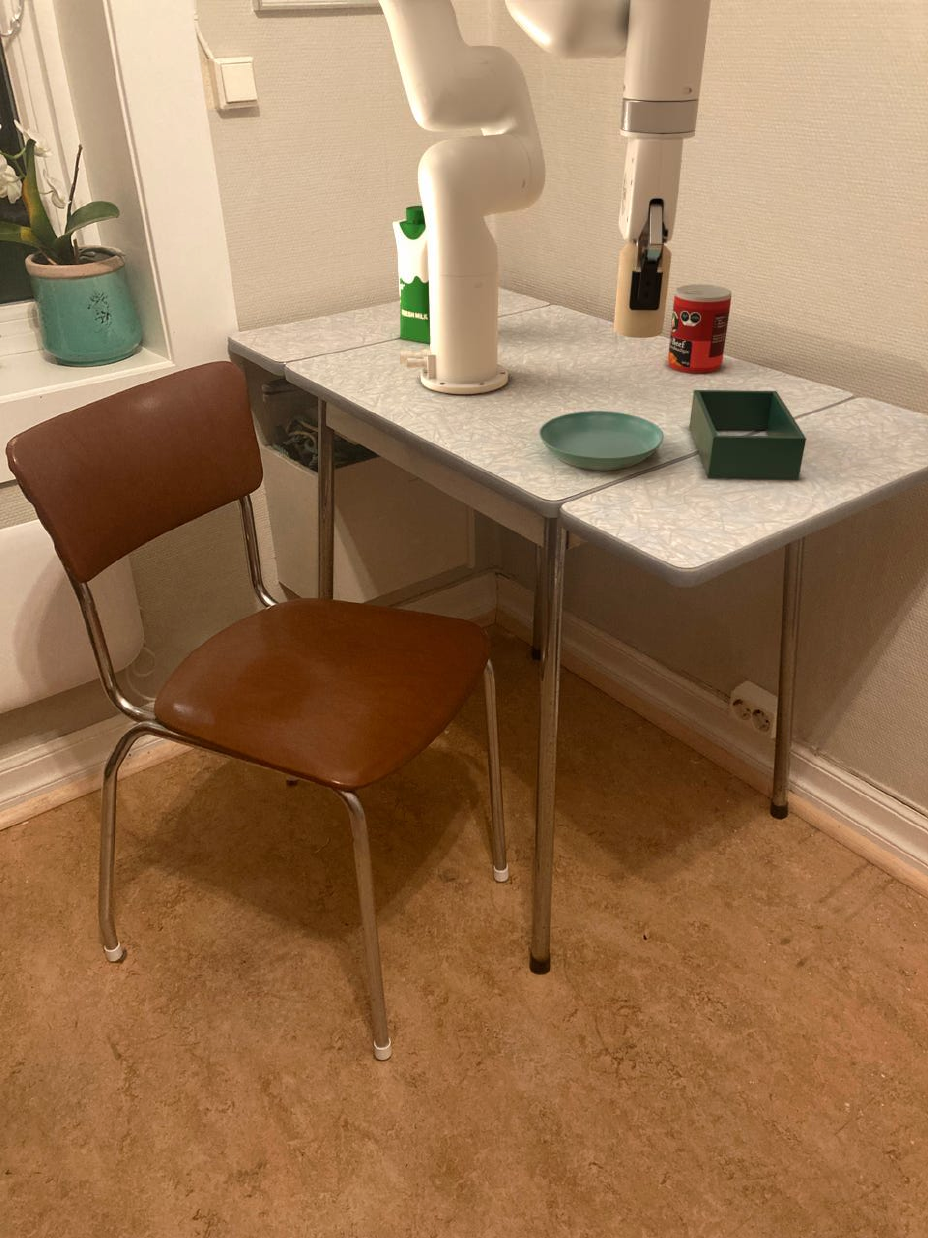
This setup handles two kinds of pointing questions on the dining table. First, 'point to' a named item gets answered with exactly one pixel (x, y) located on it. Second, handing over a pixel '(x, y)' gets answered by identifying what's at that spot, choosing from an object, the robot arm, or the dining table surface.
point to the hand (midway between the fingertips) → (640, 299)
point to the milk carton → (413, 275)
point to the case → (746, 453)
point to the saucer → (601, 439)
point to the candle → (625, 318)
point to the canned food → (699, 328)
